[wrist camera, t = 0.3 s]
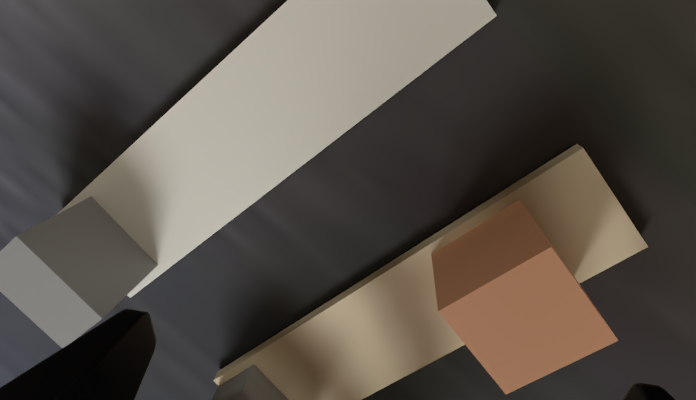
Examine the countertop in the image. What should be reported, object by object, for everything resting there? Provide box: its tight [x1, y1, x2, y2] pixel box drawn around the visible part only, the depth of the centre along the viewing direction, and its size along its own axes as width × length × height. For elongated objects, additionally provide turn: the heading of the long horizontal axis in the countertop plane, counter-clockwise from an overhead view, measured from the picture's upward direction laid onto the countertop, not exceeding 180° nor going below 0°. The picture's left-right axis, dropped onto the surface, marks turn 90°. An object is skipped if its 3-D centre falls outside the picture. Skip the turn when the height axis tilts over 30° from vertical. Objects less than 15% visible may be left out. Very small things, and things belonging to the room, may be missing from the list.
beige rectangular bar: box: [212, 144, 648, 400], centre depth 23 cm, size 24×6×6 cm, turn 129°
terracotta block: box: [431, 200, 618, 394], centre depth 20 cm, size 5×5×5 cm
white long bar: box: [0, 0, 497, 348], centre depth 20 cm, size 24×6×6 cm, turn 129°
